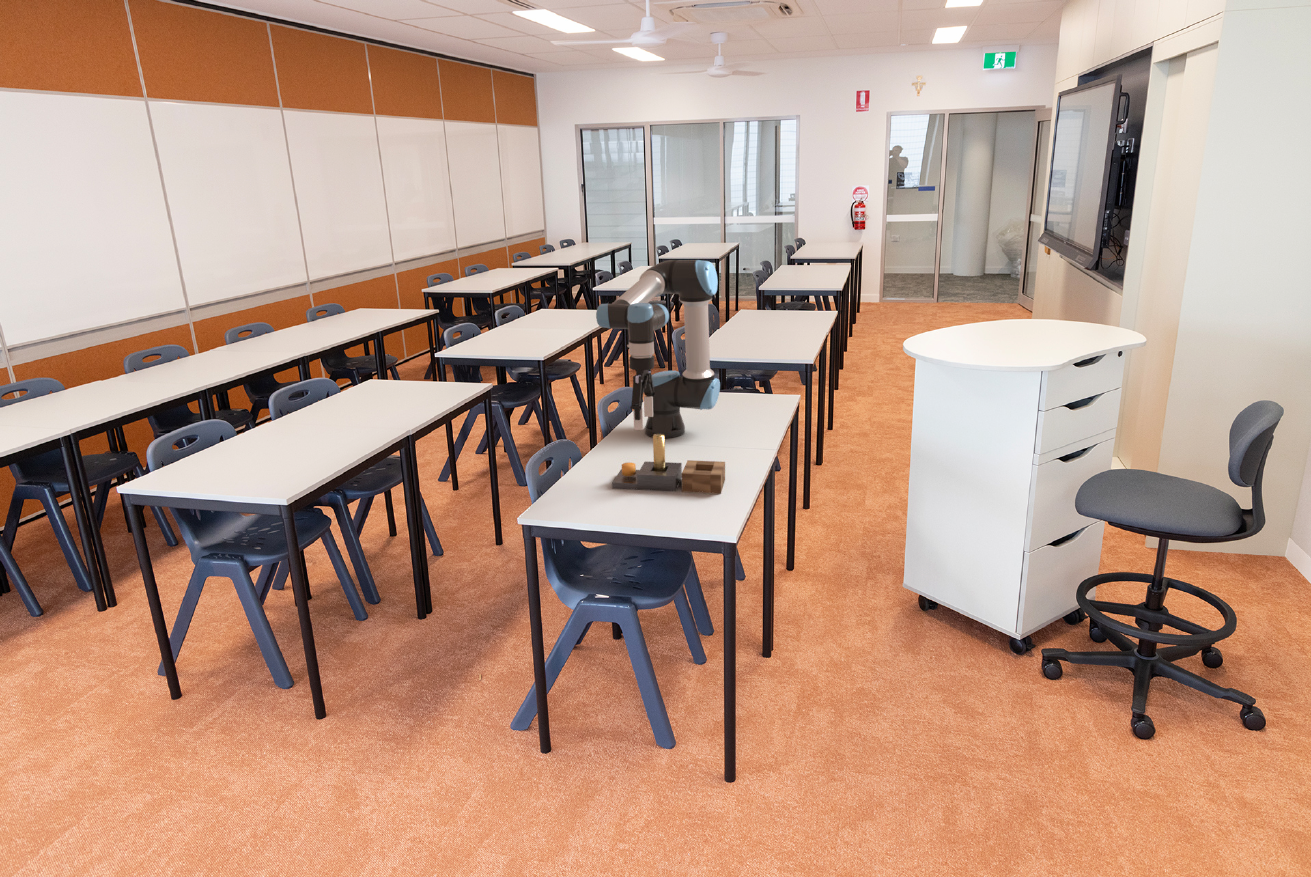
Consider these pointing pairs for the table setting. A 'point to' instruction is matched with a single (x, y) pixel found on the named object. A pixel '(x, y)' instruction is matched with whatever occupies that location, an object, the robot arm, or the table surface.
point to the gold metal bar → (659, 452)
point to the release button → (628, 469)
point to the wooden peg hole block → (703, 476)
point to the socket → (651, 478)
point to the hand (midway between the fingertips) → (643, 422)
